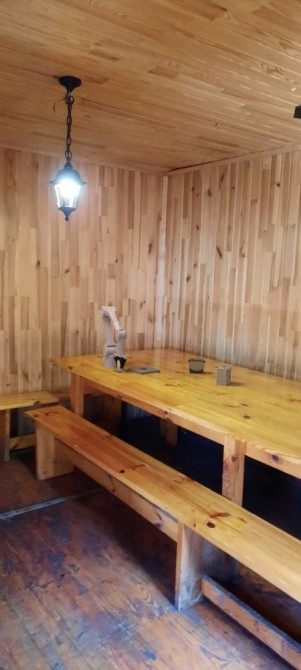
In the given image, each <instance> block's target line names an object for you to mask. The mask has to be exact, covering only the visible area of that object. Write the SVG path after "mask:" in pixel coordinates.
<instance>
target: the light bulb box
mask: <svg viewBox="0 0 301 670" xmlns="http://www.w3.org/2000/svg"><path fill="white" fill-rule="evenodd" d="M232 367H233V366H229V365H221V366H219V367H216V378H215V379H216V380H215V385H216V386H224V387H227V385H229V384H231V382H232Z"/></svg>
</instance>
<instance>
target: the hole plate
mask: <svg viewBox="0 0 301 670" xmlns="http://www.w3.org/2000/svg"><path fill="white" fill-rule="evenodd" d="M127 372H133V373H136V374H138V375H141V376H143V375H149V374H150V375H151V374H161V369H157V368H155V367H152V366H151V367H150V366H149V365H143V366H135V367H133V366H132V367H127Z"/></svg>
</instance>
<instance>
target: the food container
mask: <svg viewBox="0 0 301 670" xmlns="http://www.w3.org/2000/svg"><path fill="white" fill-rule="evenodd" d="M206 362H207V361H206V359H203V358H198V357H192V358H188V360H187V363H188V372H189V373H190V375H191V374H192V375H193V374H194V375H204V370H205V364H206ZM189 373H188V374H189Z"/></svg>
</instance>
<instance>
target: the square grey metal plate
mask: <svg viewBox="0 0 301 670" xmlns="http://www.w3.org/2000/svg"><path fill="white" fill-rule="evenodd" d="M112 372H113V373H117V374H122V373H128V370H127V371H126V370H125V369H123V370H122V371H118V370H117V369H115V370H112Z"/></svg>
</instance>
